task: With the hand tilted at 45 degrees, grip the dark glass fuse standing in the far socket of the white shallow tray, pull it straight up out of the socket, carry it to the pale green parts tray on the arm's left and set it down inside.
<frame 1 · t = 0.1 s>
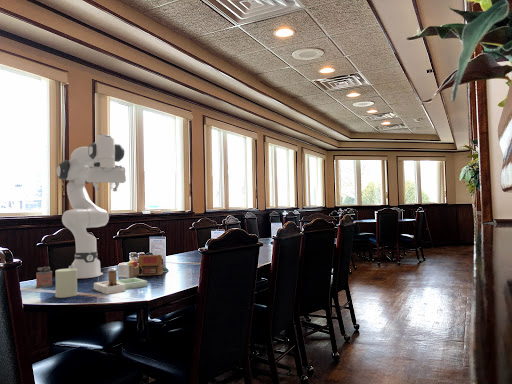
hand: (106, 191, 219), 48 cm above the table, tool pointing down, fingers open, 8 cm apart
condiment caddy: (150, 275, 245), on the table
white shallow tray: (109, 290, 199), on the table
parts tray: (129, 285, 209), on the table
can: (66, 295, 189), on the table
fuse: (112, 289, 196), point 1 cm above the table, touching white shallow tray
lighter: (44, 287, 212), on the table
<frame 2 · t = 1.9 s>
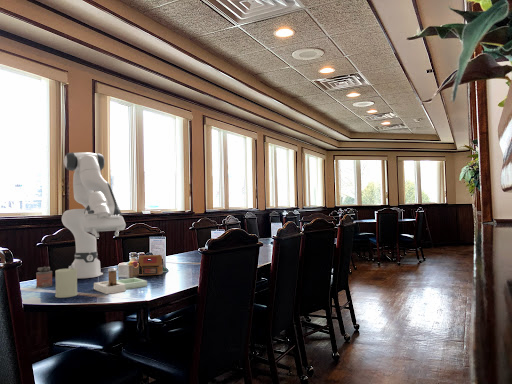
hand: (107, 235, 204), 26 cm above the table, tool tilted 45°, fingers open, 8 cm apart
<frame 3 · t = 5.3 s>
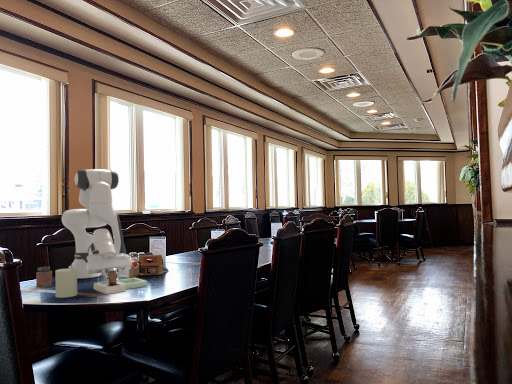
hand: (112, 277, 196), 6 cm above the table, tool tilted 45°, fingers closed on fuse, 4 cm apart
fuse: (112, 289, 196), point 1 cm above the table, touching white shallow tray, gripper
when the fingers open (8 cm above the table, at t = 10.6 s): fuse drops 2 cm, resting on parts tray.
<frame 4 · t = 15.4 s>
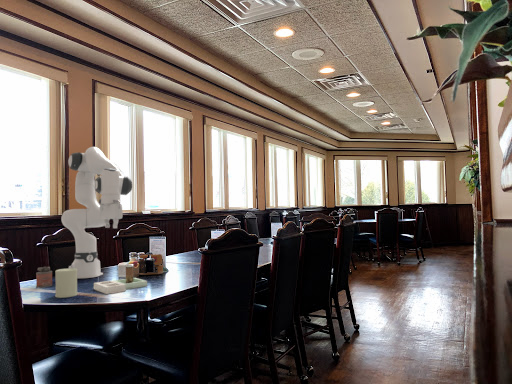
hand: (111, 228, 208), 29 cm above the table, tool pointing down, fingers open, 8 cm apart
condiment caddy: (151, 274, 248), on the table
fuse: (129, 284, 209), point 1 cm above the table, touching parts tray
everything else where it was.
at the end: fuse inside the target area on the parts tray (0.0 cm from its centre), point 0.6 cm above the parts tray's base; the gripper is holding nothing; fuse moved 13.4 cm from its start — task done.
